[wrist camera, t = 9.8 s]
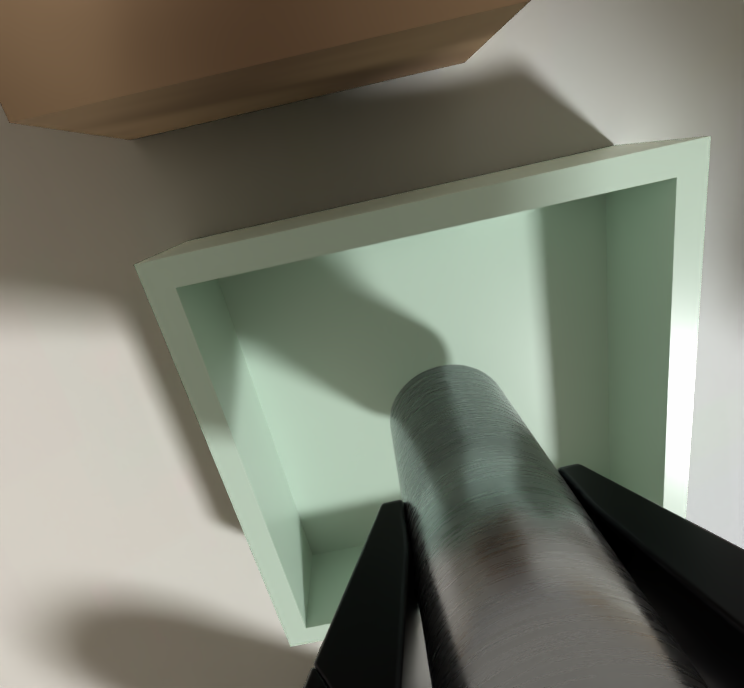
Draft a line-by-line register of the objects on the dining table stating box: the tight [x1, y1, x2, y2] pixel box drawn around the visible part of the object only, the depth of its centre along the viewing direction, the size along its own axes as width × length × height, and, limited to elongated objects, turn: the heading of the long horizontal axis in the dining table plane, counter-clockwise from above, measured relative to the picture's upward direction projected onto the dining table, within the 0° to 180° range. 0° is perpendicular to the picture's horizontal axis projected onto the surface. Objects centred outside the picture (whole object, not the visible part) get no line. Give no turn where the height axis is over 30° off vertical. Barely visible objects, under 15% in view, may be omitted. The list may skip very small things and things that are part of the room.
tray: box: [134, 136, 711, 647], centre depth 12 cm, size 11×11×3 cm
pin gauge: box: [390, 365, 709, 688], centre depth 7 cm, size 3×3×10 cm
